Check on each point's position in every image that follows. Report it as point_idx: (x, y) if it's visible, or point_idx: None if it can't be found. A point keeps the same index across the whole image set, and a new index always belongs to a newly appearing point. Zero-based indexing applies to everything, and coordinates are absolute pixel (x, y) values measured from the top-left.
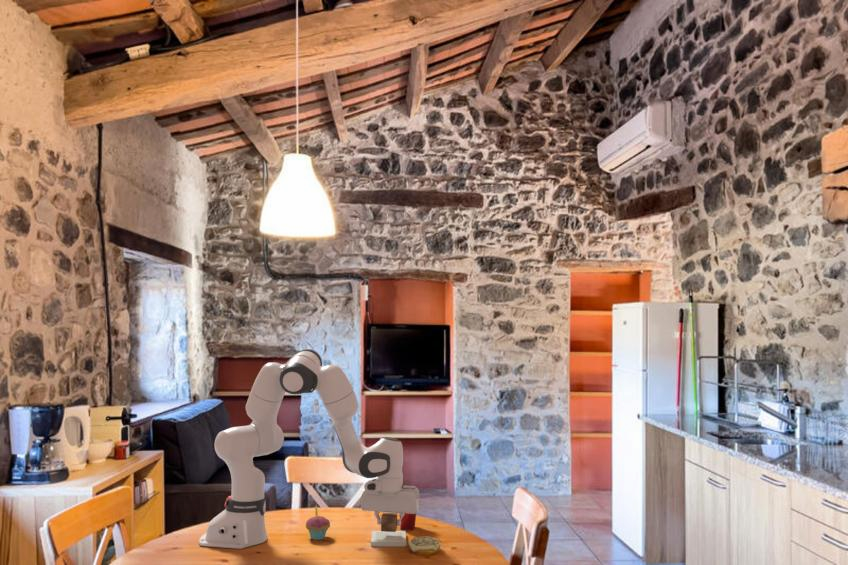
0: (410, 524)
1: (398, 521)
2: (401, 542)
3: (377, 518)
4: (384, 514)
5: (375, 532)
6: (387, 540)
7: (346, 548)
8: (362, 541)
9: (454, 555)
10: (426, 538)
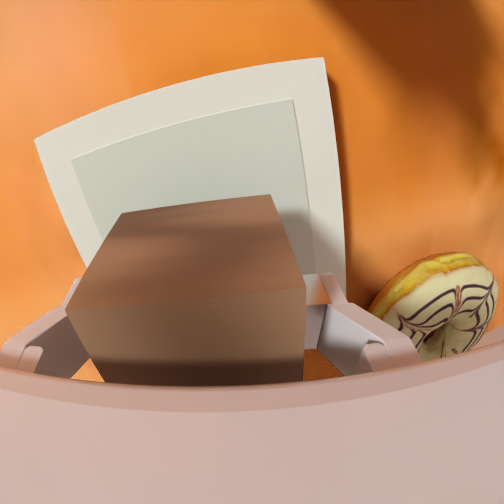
0: None
1: (317, 343)
2: None
3: (75, 357)
4: (130, 380)
5: (71, 169)
6: None
7: None
8: (55, 268)
9: (496, 316)
10: (457, 315)
